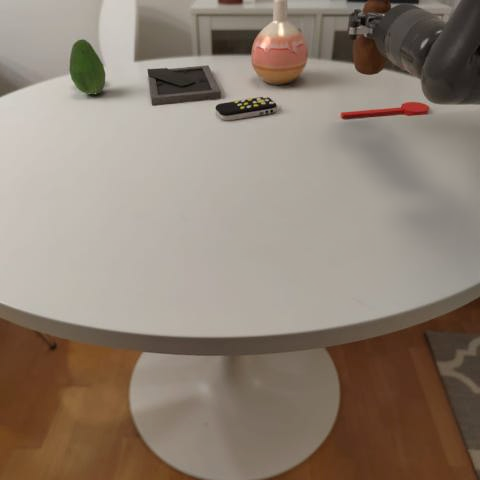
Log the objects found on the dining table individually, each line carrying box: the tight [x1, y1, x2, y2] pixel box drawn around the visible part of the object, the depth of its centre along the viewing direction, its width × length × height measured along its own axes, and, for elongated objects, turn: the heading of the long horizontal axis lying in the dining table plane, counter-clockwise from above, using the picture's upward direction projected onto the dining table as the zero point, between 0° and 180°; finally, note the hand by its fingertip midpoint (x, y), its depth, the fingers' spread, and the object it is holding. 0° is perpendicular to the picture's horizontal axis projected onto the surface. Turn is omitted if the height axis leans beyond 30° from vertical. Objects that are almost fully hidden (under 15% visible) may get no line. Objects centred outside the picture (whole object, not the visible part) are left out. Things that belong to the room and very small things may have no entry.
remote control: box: [215, 95, 278, 122], centre depth 98 cm, size 6×13×2 cm, turn 109°
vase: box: [250, 0, 309, 86], centre depth 108 cm, size 14×14×18 cm
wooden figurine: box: [352, 0, 392, 76], centre depth 77 cm, size 7×6×15 cm
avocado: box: [68, 38, 106, 95], centre depth 107 cm, size 8×8×12 cm
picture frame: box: [146, 65, 222, 106], centre depth 112 cm, size 16×2×21 cm
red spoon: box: [340, 101, 430, 120], centre depth 96 cm, size 19×6×1 cm, turn 98°
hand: (370, 15), depth 78 cm, fingers closed on wooden figurine, 4 cm apart
